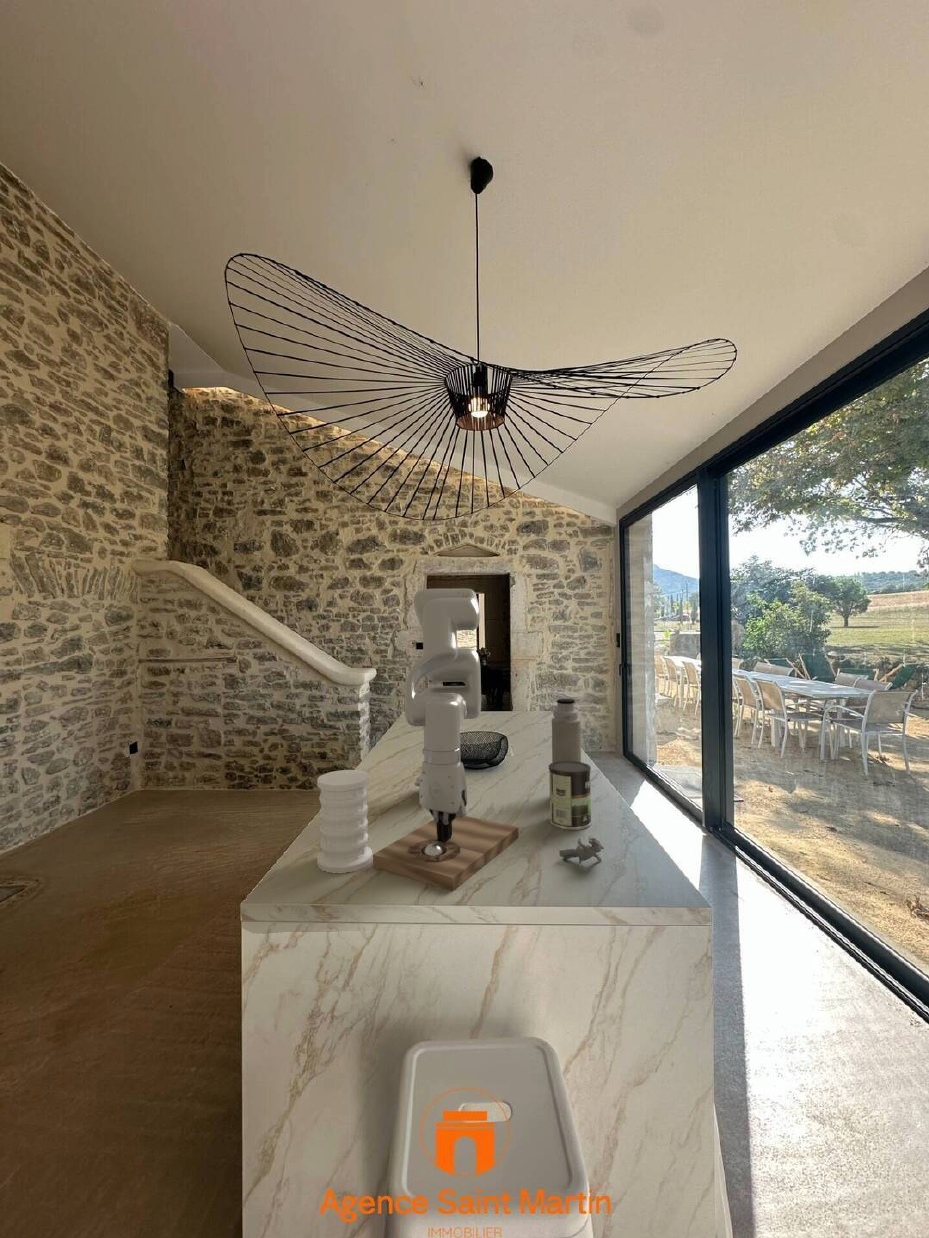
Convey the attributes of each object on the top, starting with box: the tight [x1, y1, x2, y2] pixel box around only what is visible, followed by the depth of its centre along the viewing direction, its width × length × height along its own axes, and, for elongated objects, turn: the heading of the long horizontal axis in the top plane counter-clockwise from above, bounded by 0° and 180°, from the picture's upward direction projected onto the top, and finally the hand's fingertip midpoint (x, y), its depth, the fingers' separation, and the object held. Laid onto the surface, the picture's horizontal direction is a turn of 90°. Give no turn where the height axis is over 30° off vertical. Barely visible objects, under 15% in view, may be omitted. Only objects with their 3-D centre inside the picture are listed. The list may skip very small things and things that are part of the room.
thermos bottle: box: [551, 698, 582, 763], centre depth 153 cm, size 8×8×28 cm
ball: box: [424, 844, 443, 856], centre depth 114 cm, size 4×4×4 cm
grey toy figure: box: [558, 834, 605, 868], centre depth 113 cm, size 10×6×9 cm
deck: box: [372, 815, 519, 892], centre depth 120 cm, size 28×20×2 cm
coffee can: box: [548, 761, 592, 831], centre depth 135 cm, size 10×10×14 cm
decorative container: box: [316, 769, 373, 874], centre depth 116 cm, size 12×12×18 cm
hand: (444, 839), depth 118 cm, fingers closed
